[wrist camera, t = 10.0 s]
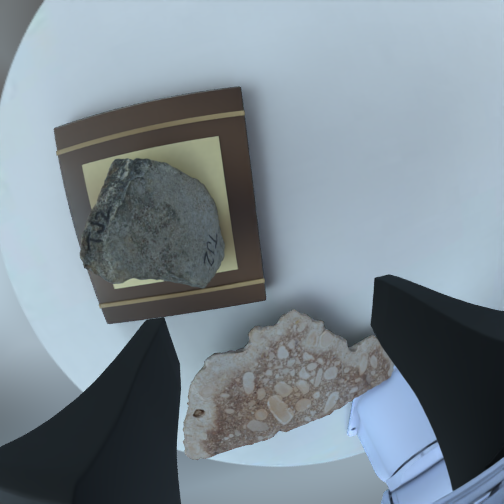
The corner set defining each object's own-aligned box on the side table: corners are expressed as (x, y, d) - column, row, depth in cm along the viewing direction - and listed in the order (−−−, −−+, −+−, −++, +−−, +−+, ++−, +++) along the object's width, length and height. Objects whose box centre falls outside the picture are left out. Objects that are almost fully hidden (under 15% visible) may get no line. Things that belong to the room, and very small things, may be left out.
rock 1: (207, 256, 19) (246, 305, 15) (83, 269, 15) (90, 331, 12) (220, 151, 16) (270, 177, 12) (78, 152, 12) (74, 180, 9)
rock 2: (194, 468, 19) (132, 381, 15) (187, 432, 23) (134, 343, 19) (400, 381, 22) (408, 277, 19) (376, 357, 26) (374, 258, 22)
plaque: (263, 290, 20) (266, 301, 18) (111, 314, 19) (106, 325, 18) (238, 88, 15) (241, 85, 14) (62, 127, 14) (52, 128, 13)
